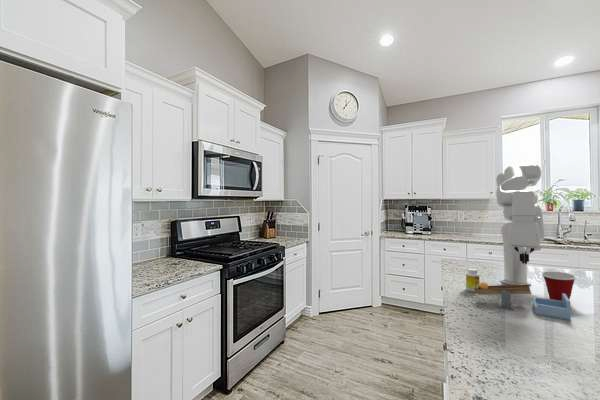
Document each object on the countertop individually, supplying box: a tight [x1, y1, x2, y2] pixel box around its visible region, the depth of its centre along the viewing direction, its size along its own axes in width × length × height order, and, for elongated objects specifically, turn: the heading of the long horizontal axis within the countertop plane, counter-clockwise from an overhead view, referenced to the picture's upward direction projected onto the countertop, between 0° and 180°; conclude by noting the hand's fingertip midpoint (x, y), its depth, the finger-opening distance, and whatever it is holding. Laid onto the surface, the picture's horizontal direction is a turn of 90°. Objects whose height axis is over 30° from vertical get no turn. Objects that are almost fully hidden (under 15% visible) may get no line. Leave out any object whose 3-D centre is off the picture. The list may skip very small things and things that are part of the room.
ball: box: [479, 281, 489, 289], centre depth 119 cm, size 4×4×4 cm
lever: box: [476, 284, 532, 296], centre depth 117 cm, size 13×18×3 cm
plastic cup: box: [541, 270, 577, 301], centre depth 117 cm, size 11×11×12 cm
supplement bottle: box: [465, 268, 481, 293], centre depth 134 cm, size 6×6×10 cm
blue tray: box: [531, 293, 572, 322], centre depth 106 cm, size 10×10×7 cm
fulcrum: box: [498, 290, 515, 311], centre depth 114 cm, size 10×5×7 cm, turn 143°
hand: (524, 263), depth 116 cm, fingers closed
